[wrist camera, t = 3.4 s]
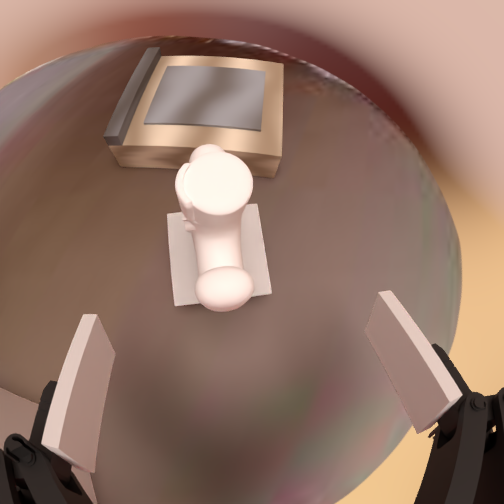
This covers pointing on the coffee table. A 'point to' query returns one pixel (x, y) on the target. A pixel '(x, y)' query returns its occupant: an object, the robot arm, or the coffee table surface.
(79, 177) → the coffee table surface
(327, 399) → the coffee table surface
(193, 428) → the coffee table surface
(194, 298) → the figurine
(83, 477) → the building blocks
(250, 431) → the coffee table surface
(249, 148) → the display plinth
